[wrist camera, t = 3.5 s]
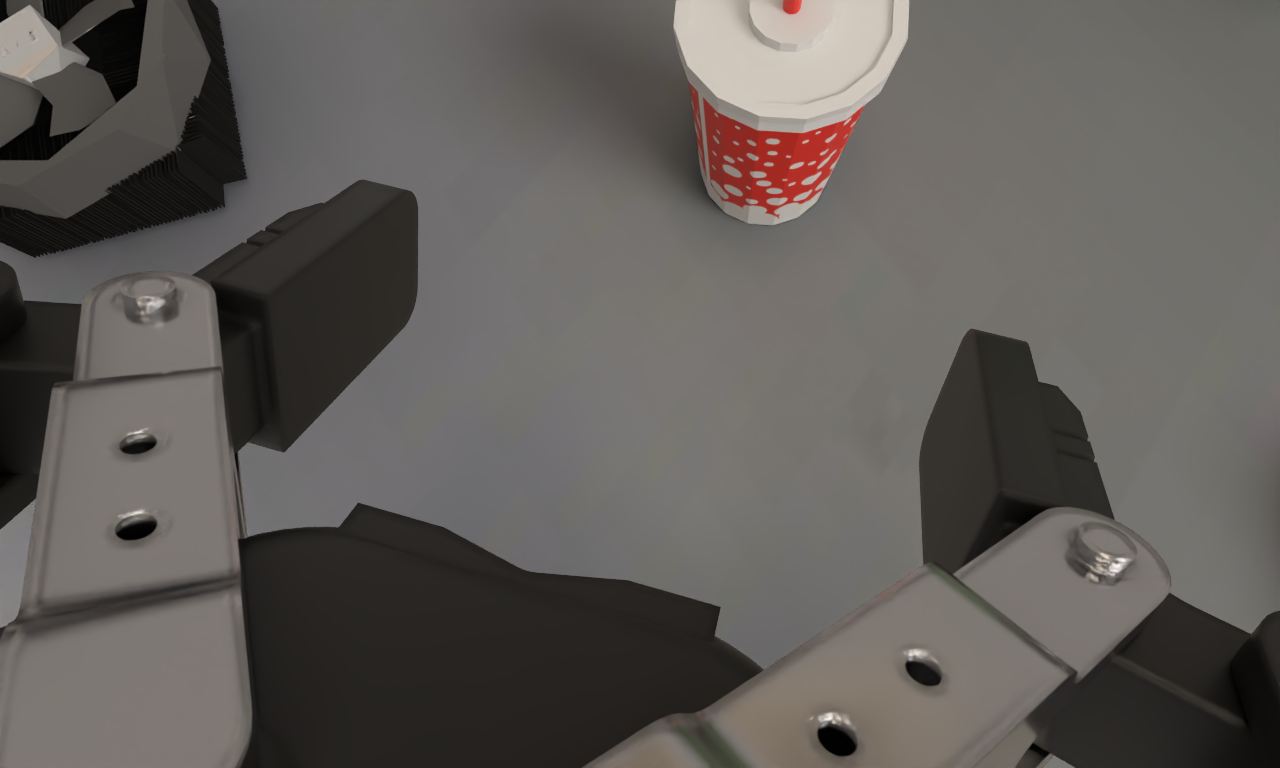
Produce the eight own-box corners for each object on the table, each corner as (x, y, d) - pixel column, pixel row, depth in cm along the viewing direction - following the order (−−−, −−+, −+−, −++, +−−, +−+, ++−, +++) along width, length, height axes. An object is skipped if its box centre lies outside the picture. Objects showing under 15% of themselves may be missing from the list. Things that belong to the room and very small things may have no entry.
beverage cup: (883, 195, 31) (1030, -96, 18) (731, 276, 31) (759, 44, 17) (796, 59, 33) (868, -310, 19) (649, 136, 32) (614, -182, 19)
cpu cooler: (142, -136, 29) (184, 136, 27) (231, -23, 35) (272, 210, 33) (-159, -55, 29) (-141, 223, 27) (-22, 45, 35) (2, 282, 33)
